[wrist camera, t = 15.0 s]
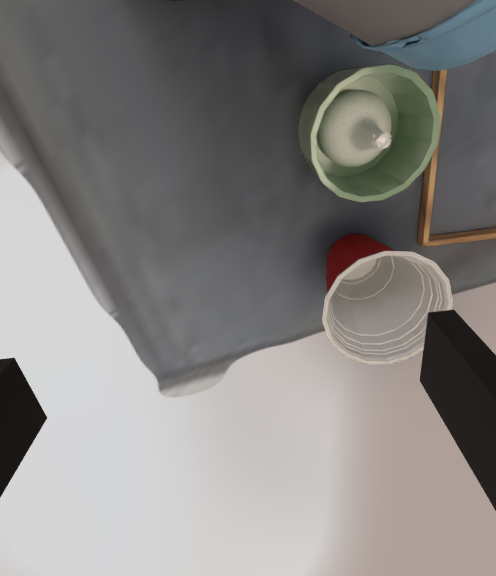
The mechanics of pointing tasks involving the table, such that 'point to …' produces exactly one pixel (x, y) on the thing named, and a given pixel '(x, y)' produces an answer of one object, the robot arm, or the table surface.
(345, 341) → the plastic cup
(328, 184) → the cup
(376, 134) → the garlic bulb
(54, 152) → the table surface
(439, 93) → the frame
